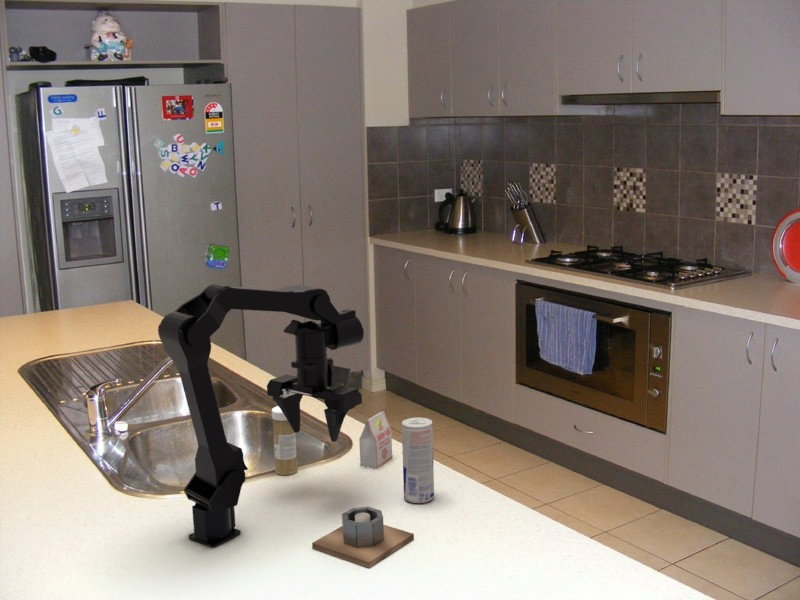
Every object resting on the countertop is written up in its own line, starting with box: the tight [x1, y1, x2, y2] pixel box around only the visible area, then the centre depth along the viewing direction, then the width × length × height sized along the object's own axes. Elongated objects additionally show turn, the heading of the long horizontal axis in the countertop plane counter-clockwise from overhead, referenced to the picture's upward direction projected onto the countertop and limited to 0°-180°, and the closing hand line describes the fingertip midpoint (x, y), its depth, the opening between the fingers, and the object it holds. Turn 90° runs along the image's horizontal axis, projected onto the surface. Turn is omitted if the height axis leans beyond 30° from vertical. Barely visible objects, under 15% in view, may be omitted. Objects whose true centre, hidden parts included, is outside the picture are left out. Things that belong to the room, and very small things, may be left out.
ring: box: [341, 506, 384, 548], centre depth 152 cm, size 7×7×4 cm
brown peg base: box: [311, 513, 415, 569], centre depth 152 cm, size 12×12×5 cm
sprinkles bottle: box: [271, 405, 298, 476], centre depth 183 cm, size 5×5×13 cm
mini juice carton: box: [358, 411, 393, 470], centre depth 187 cm, size 4×7×10 cm, turn 152°
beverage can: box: [401, 417, 435, 504], centre depth 168 cm, size 6×6×15 cm
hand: (315, 436), depth 169 cm, fingers open, 9 cm apart
